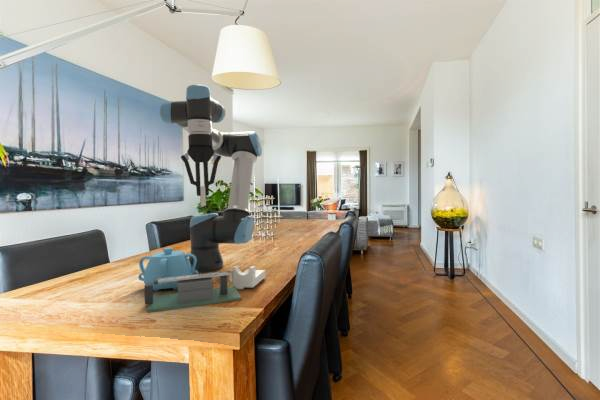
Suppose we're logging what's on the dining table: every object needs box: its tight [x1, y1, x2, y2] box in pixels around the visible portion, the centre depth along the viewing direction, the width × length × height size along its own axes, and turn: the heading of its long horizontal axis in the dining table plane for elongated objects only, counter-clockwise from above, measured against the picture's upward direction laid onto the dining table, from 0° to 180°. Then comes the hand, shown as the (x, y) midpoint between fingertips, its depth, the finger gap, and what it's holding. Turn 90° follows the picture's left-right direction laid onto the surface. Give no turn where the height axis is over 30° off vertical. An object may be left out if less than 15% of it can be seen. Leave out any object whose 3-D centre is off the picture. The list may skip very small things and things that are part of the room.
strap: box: [153, 270, 233, 284], centre depth 100 cm, size 3×23×3 cm, turn 111°
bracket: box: [232, 264, 266, 290], centre depth 116 cm, size 13×7×8 cm, turn 167°
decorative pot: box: [138, 247, 199, 292], centre depth 114 cm, size 16×16×14 cm
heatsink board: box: [144, 275, 242, 313], centre depth 100 cm, size 12×27×6 cm, turn 111°
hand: (203, 205), depth 109 cm, fingers closed
